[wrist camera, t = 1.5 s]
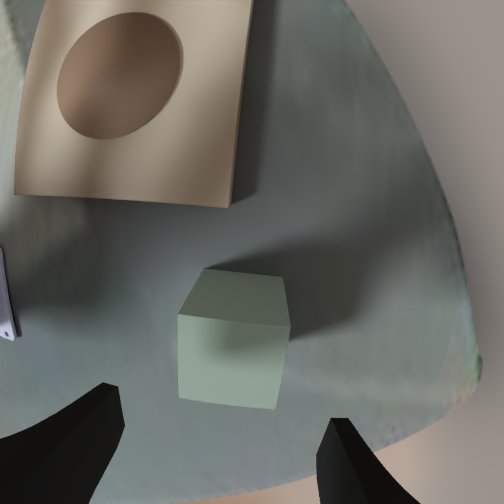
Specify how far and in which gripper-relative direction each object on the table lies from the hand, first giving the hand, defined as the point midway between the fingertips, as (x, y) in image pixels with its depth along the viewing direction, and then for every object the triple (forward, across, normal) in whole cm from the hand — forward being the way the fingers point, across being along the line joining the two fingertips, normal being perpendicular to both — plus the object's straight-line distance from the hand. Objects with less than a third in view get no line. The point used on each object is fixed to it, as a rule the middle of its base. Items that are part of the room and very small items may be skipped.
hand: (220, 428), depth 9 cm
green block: (+10, 0, 0) cm, 10 cm away
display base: (+9, +8, -13) cm, 18 cm away
